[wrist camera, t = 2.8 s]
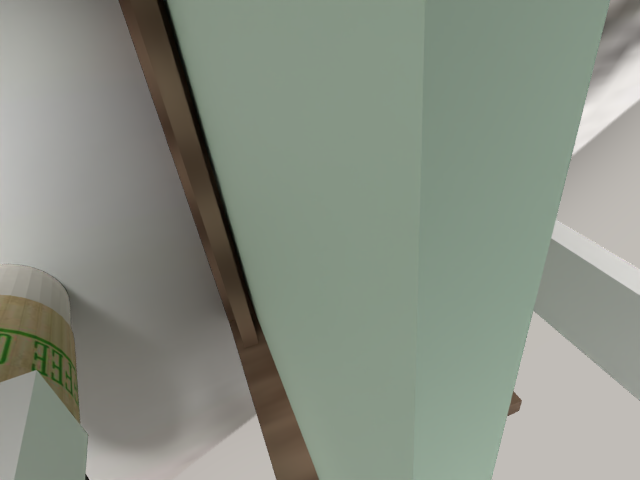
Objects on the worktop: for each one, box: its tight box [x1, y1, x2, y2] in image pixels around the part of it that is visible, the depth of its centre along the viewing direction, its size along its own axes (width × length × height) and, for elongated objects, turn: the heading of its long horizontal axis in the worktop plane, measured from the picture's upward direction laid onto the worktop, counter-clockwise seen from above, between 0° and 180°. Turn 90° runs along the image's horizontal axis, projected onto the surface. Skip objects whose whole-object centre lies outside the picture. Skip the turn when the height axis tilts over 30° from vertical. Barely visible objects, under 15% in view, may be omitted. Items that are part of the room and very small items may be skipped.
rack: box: [119, 0, 522, 480], centre depth 20 cm, size 30×14×16 cm, turn 7°
